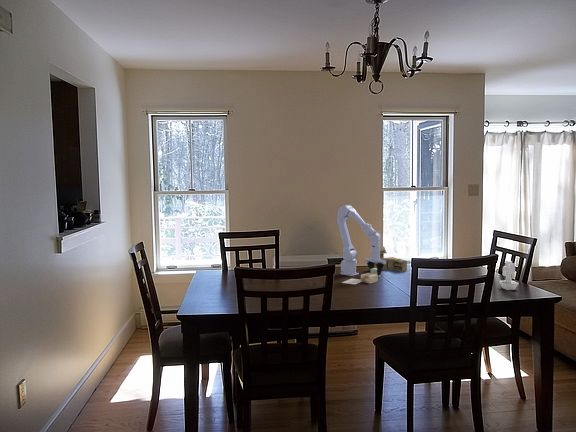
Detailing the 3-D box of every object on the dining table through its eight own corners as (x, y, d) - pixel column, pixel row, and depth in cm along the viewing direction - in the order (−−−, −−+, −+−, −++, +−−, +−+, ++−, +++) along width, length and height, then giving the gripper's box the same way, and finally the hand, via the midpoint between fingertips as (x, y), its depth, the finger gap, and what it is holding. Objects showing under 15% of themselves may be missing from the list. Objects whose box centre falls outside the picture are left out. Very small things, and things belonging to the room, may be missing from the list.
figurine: (510, 286, 244) (510, 258, 243) (520, 290, 235) (520, 262, 233) (497, 286, 244) (497, 259, 243) (506, 291, 234) (506, 262, 233)
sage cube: (370, 276, 278) (370, 268, 278) (375, 275, 281) (374, 267, 281) (376, 277, 275) (376, 269, 274) (380, 276, 278) (380, 268, 277)
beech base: (360, 281, 266) (360, 274, 265) (368, 279, 271) (368, 272, 270) (370, 283, 261) (370, 276, 260) (377, 281, 265) (377, 274, 265)
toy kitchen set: (382, 275, 283) (382, 251, 282) (368, 270, 298) (368, 247, 297) (407, 271, 290) (407, 248, 288) (392, 267, 305) (391, 245, 304)
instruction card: (341, 282, 265) (341, 282, 265) (351, 278, 274) (351, 278, 274) (355, 284, 259) (355, 284, 259) (365, 280, 269) (365, 279, 269)
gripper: (361, 252, 279) (362, 273, 281) (381, 254, 269) (381, 277, 270) (368, 250, 284) (369, 271, 285) (388, 253, 273) (388, 275, 275)
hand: (375, 274), depth 278 cm, fingers open, 5 cm apart
